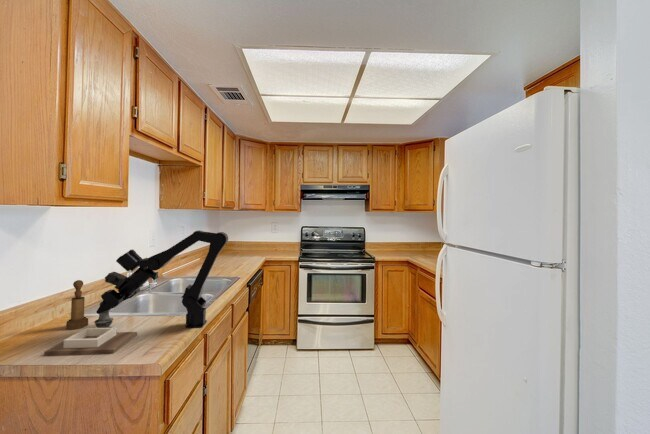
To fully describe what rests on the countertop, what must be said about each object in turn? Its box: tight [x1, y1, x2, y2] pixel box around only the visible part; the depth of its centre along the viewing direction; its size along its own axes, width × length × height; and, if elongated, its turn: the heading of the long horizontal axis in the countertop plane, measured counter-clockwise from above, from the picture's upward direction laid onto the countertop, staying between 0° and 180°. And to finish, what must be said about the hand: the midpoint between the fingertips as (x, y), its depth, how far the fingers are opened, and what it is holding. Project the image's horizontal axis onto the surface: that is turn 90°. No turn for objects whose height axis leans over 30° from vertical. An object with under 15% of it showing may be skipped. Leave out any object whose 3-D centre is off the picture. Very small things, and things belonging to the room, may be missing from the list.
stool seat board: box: [43, 327, 138, 356], centre depth 97 cm, size 20×14×4 cm
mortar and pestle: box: [65, 279, 89, 330], centre depth 112 cm, size 7×6×18 cm
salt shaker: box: [93, 300, 114, 328], centre depth 109 cm, size 6×6×12 cm
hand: (104, 308), depth 109 cm, fingers open, 9 cm apart
